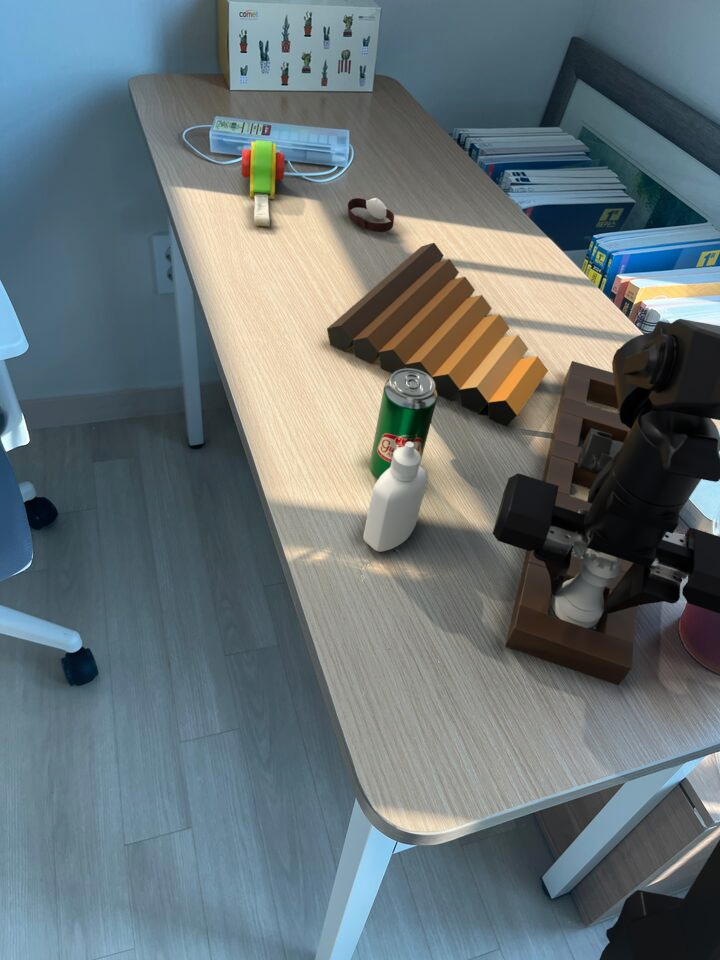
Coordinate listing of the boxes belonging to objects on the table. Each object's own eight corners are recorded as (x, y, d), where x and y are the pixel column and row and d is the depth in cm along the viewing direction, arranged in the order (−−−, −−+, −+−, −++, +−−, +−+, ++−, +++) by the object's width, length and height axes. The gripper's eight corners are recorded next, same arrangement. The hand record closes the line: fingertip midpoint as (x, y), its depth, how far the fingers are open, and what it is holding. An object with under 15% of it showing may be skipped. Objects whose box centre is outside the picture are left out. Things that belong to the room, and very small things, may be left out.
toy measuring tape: (282, 168, 122) (284, 127, 117) (283, 230, 109) (285, 186, 104) (242, 165, 121) (243, 123, 116) (238, 227, 108) (238, 182, 103)
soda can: (367, 486, 76) (384, 397, 68) (370, 451, 80) (386, 362, 71) (416, 493, 77) (440, 404, 68) (417, 457, 80) (439, 369, 71)
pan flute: (418, 259, 108) (325, 342, 92) (422, 238, 105) (327, 319, 89) (582, 327, 101) (512, 429, 85) (591, 305, 98) (520, 406, 83)
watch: (399, 227, 113) (402, 204, 111) (382, 239, 110) (385, 216, 108) (356, 208, 116) (359, 186, 113) (339, 219, 113) (341, 196, 110)
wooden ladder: (618, 686, 64) (632, 668, 62) (504, 646, 66) (514, 628, 63) (645, 403, 91) (655, 384, 89) (564, 380, 93) (572, 360, 90)
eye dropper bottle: (355, 520, 73) (371, 430, 65) (409, 512, 75) (432, 423, 66) (367, 555, 70) (386, 466, 62) (423, 546, 72) (449, 458, 63)
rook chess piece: (539, 597, 67) (568, 541, 62) (579, 583, 69) (611, 527, 63) (569, 638, 65) (601, 584, 59) (609, 622, 66) (645, 568, 61)
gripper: (776, 445, 59) (689, 565, 70) (542, 376, 61) (494, 503, 73) (786, 549, 51) (687, 665, 62) (519, 466, 54) (470, 592, 65)
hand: (580, 600), depth 66 cm, fingers closed on rook chess piece, 4 cm apart
